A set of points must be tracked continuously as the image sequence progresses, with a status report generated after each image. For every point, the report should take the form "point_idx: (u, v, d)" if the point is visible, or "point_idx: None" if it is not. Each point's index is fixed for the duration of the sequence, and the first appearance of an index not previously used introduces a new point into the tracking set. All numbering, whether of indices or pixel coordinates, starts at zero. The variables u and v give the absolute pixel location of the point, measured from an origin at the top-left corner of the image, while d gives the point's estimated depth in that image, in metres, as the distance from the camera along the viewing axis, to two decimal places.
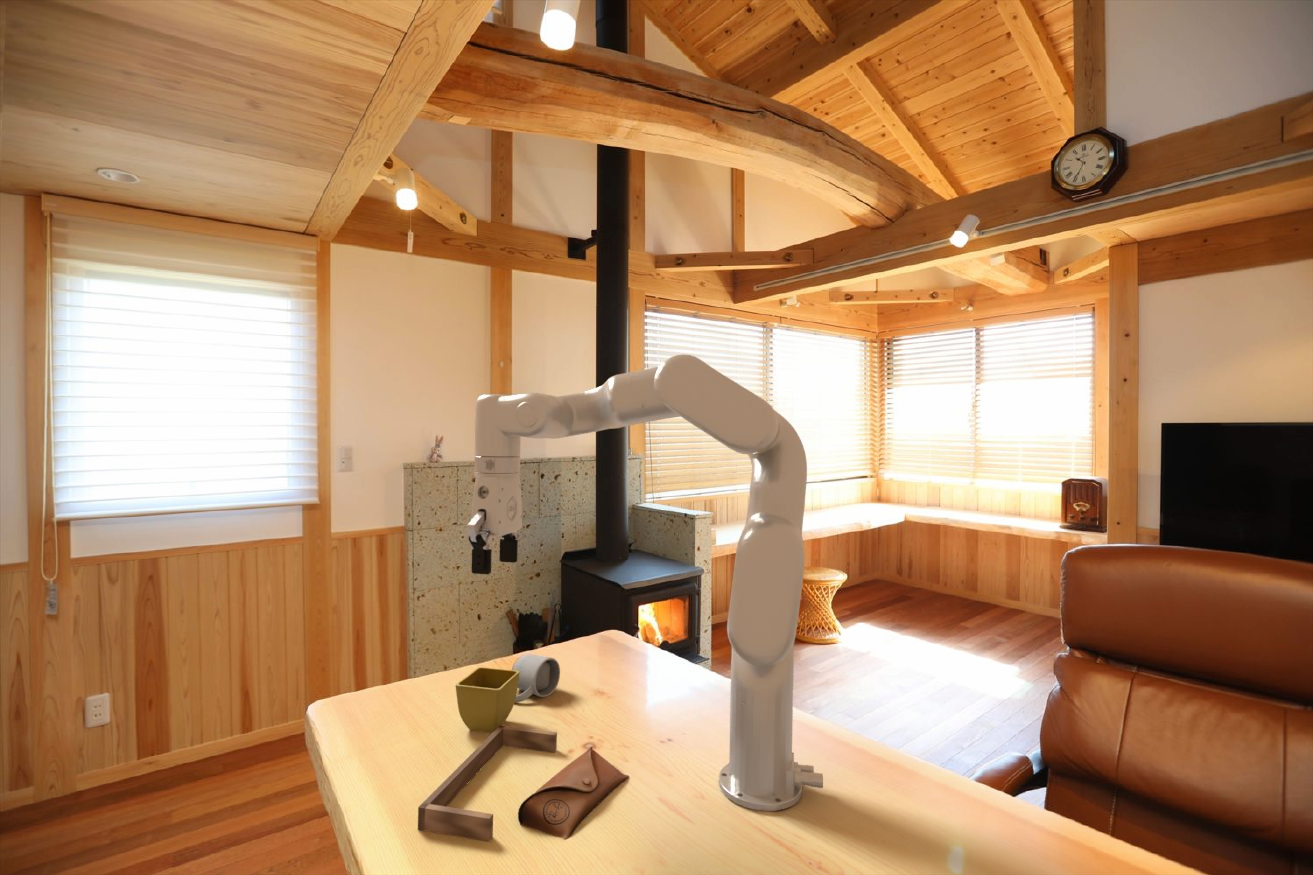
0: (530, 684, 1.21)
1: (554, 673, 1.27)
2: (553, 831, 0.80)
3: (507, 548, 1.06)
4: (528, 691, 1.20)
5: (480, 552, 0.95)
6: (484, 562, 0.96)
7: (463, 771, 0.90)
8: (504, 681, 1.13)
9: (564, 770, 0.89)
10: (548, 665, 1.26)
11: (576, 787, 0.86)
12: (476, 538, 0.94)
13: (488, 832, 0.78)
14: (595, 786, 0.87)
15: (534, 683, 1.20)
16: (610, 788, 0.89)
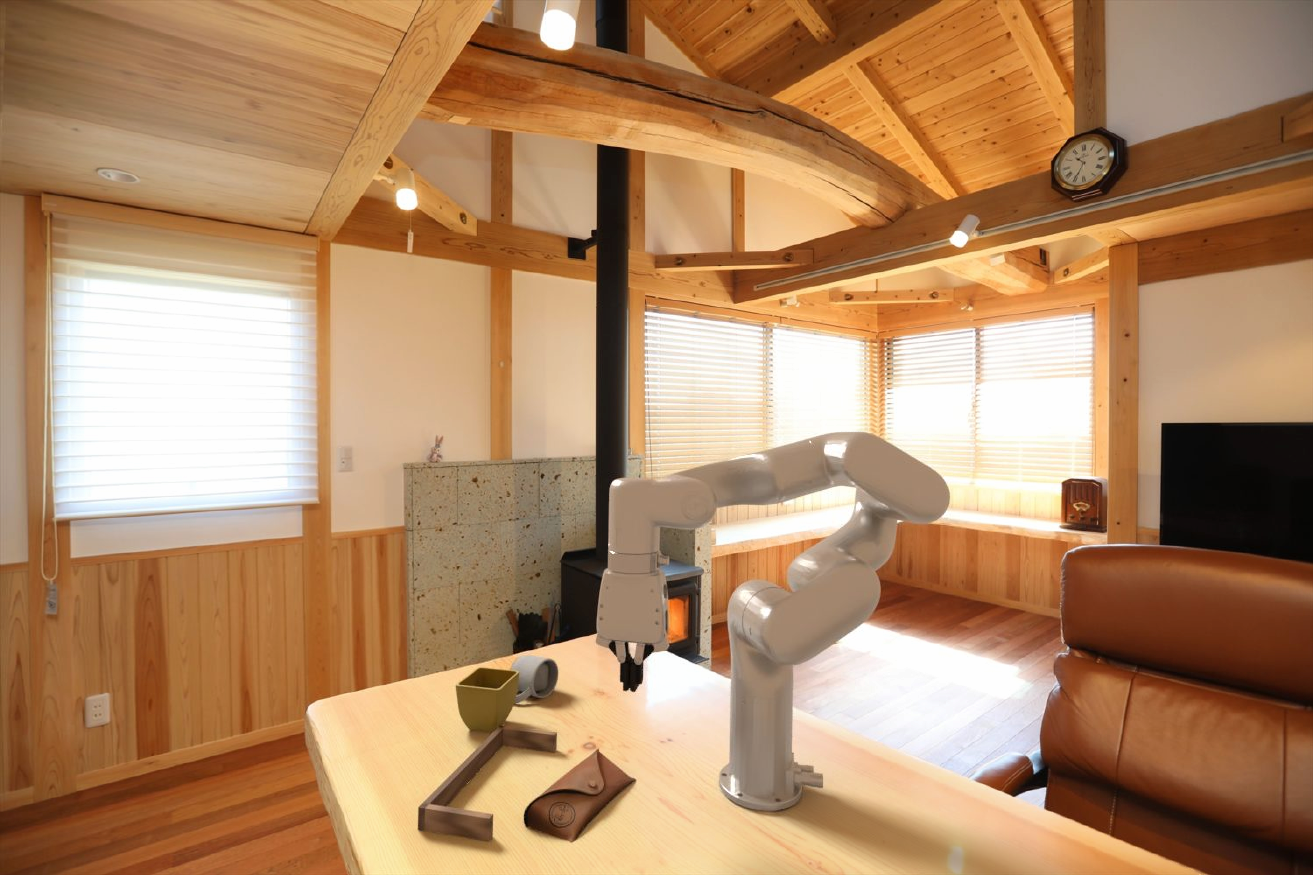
0: (528, 685, 1.20)
1: (552, 674, 1.26)
2: (559, 834, 0.79)
3: None
4: (526, 692, 1.19)
5: (642, 663, 0.87)
6: None
7: (463, 771, 0.90)
8: (504, 681, 1.13)
9: (570, 772, 0.89)
10: (546, 666, 1.25)
11: (582, 789, 0.85)
12: None
13: (488, 832, 0.78)
14: (601, 789, 0.87)
15: (532, 684, 1.20)
16: (616, 791, 0.89)
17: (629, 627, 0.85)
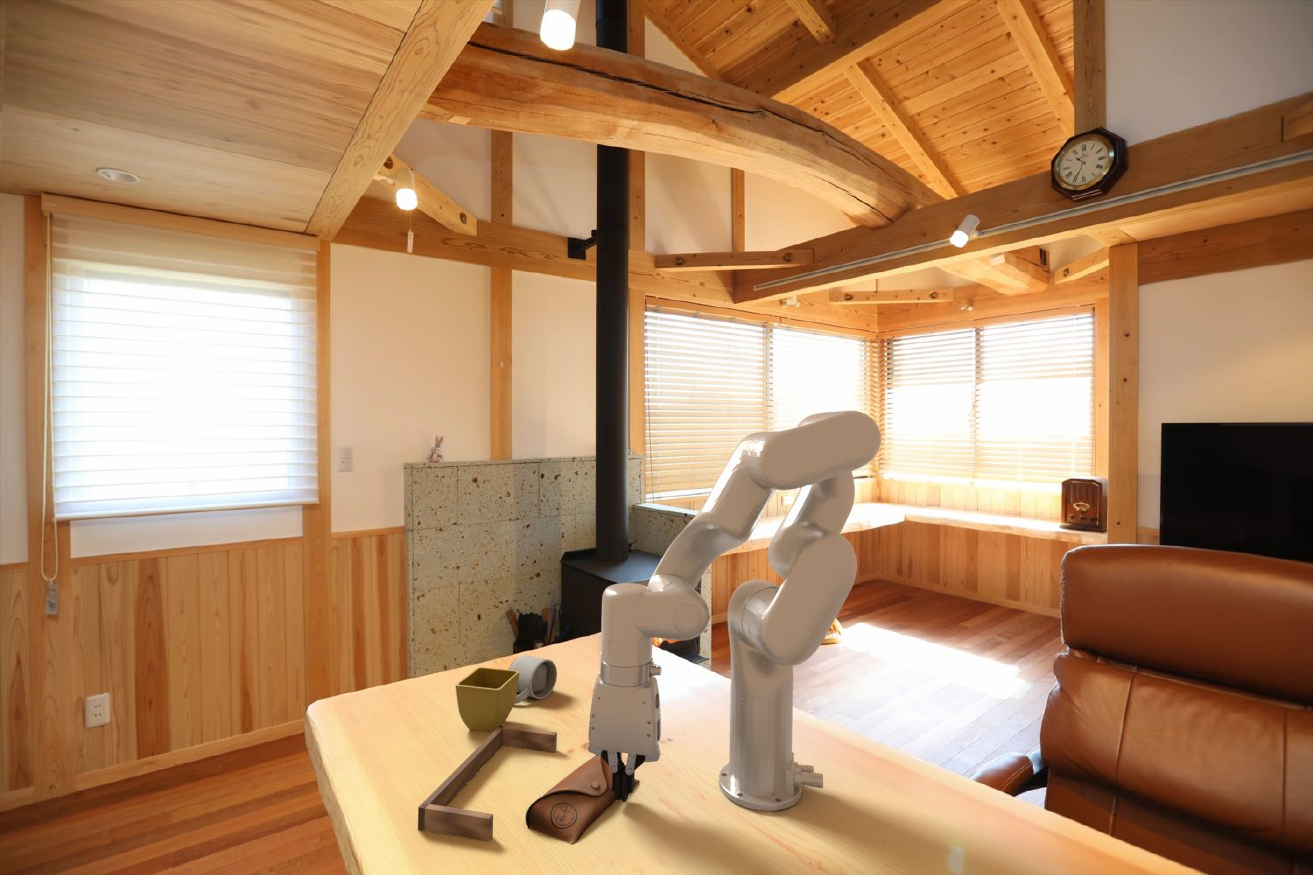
0: (526, 686, 1.20)
1: (551, 675, 1.26)
2: (560, 836, 0.79)
3: None
4: (524, 693, 1.19)
5: (633, 771, 0.87)
6: None
7: (463, 771, 0.90)
8: (504, 681, 1.13)
9: (573, 773, 0.88)
10: (545, 667, 1.25)
11: (585, 791, 0.85)
12: None
13: (488, 832, 0.78)
14: (604, 790, 0.86)
15: (530, 685, 1.19)
16: None
17: (620, 738, 0.85)
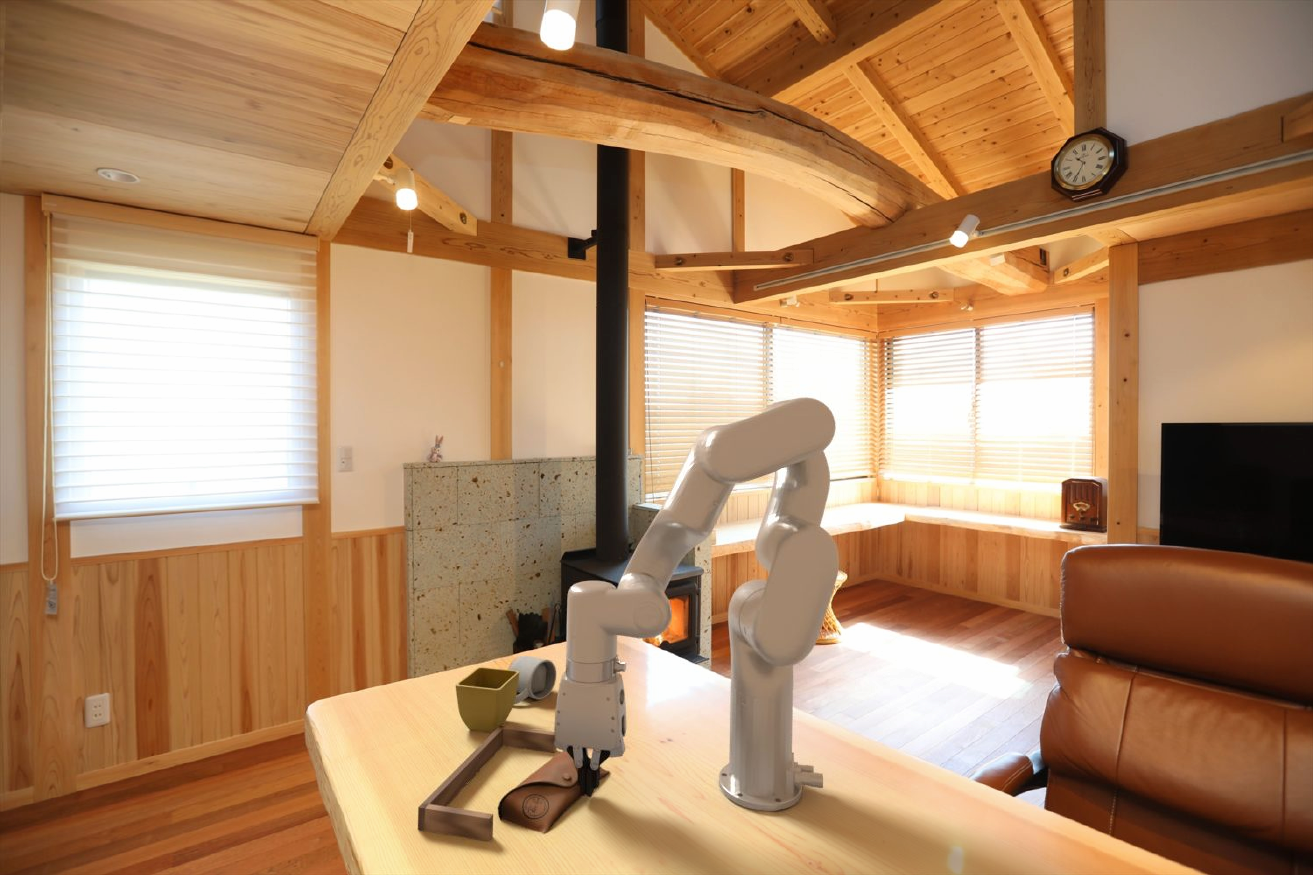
0: (525, 686, 1.20)
1: (550, 675, 1.26)
2: (532, 826, 0.81)
3: None
4: (523, 693, 1.19)
5: (599, 766, 0.88)
6: None
7: (463, 771, 0.90)
8: (504, 681, 1.13)
9: (545, 766, 0.90)
10: (544, 667, 1.24)
11: (556, 782, 0.87)
12: None
13: (488, 832, 0.78)
14: (575, 781, 0.88)
15: (529, 686, 1.19)
16: None
17: (585, 733, 0.86)
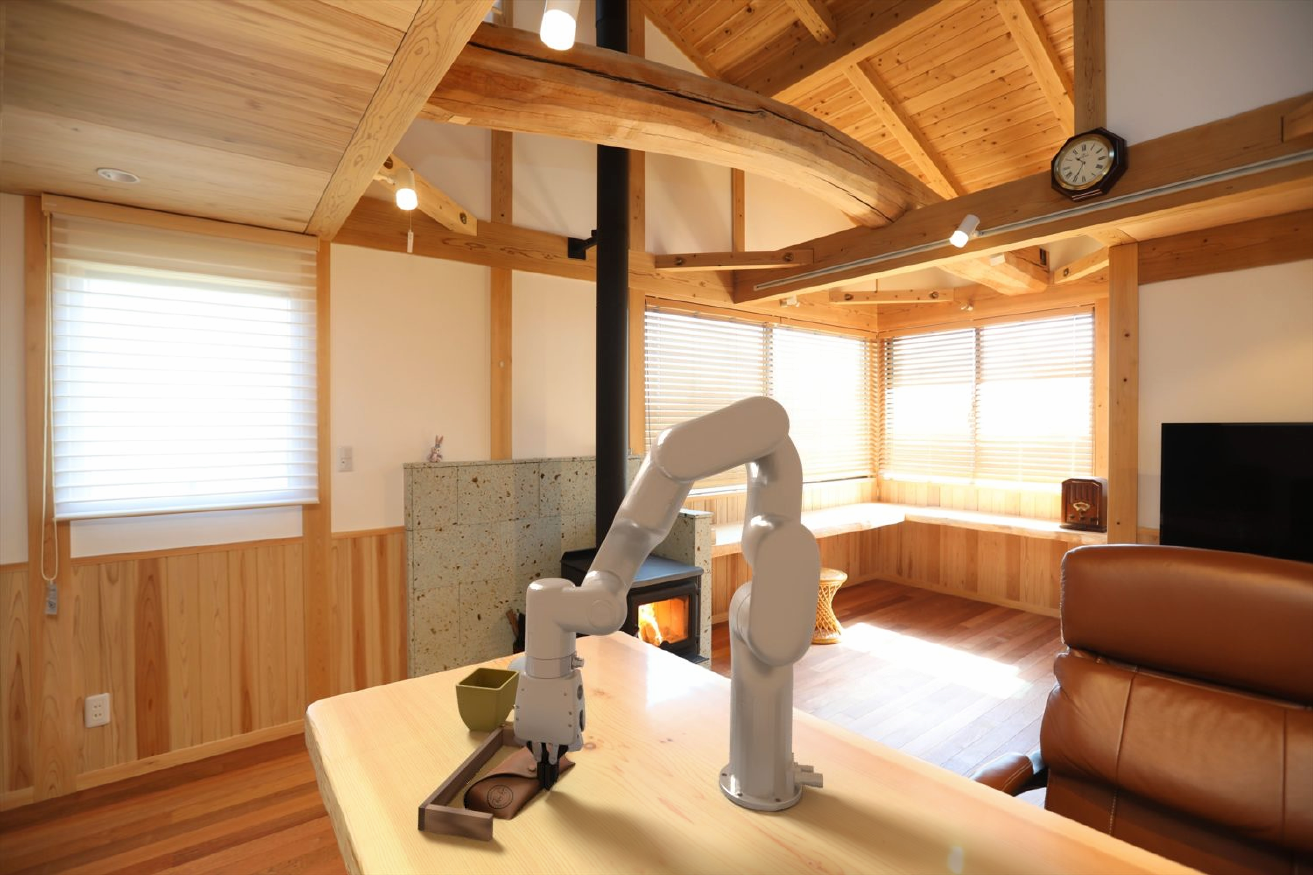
0: None
1: None
2: (496, 815, 0.83)
3: None
4: None
5: (558, 760, 0.89)
6: None
7: (463, 771, 0.90)
8: (504, 681, 1.13)
9: (511, 758, 0.93)
10: None
11: (521, 773, 0.89)
12: None
13: (488, 832, 0.78)
14: None
15: None
16: None
17: (543, 728, 0.87)
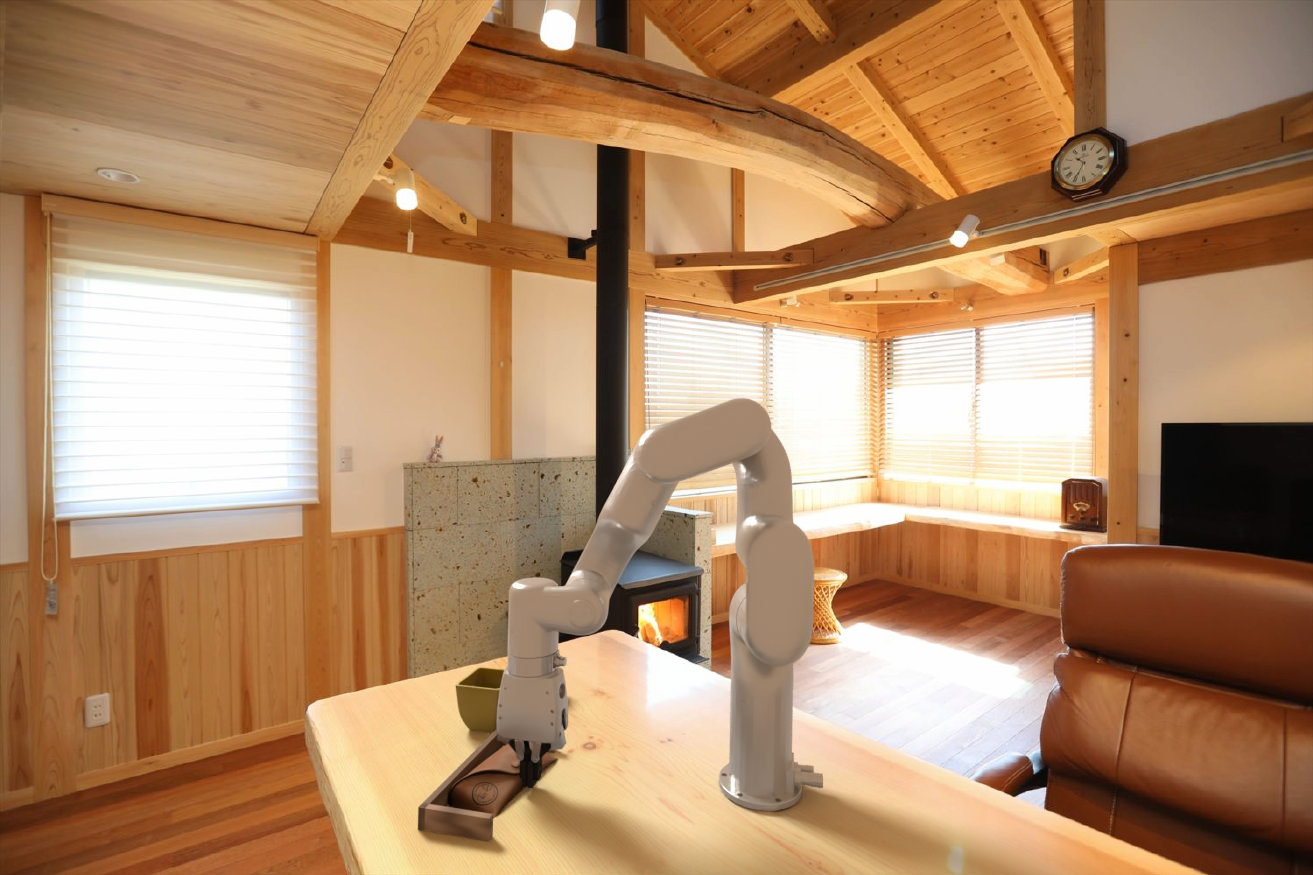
0: None
1: None
2: None
3: None
4: None
5: (541, 759, 0.90)
6: None
7: (463, 771, 0.90)
8: None
9: (494, 755, 0.93)
10: None
11: (505, 770, 0.90)
12: None
13: (488, 832, 0.78)
14: None
15: None
16: None
17: (525, 727, 0.88)
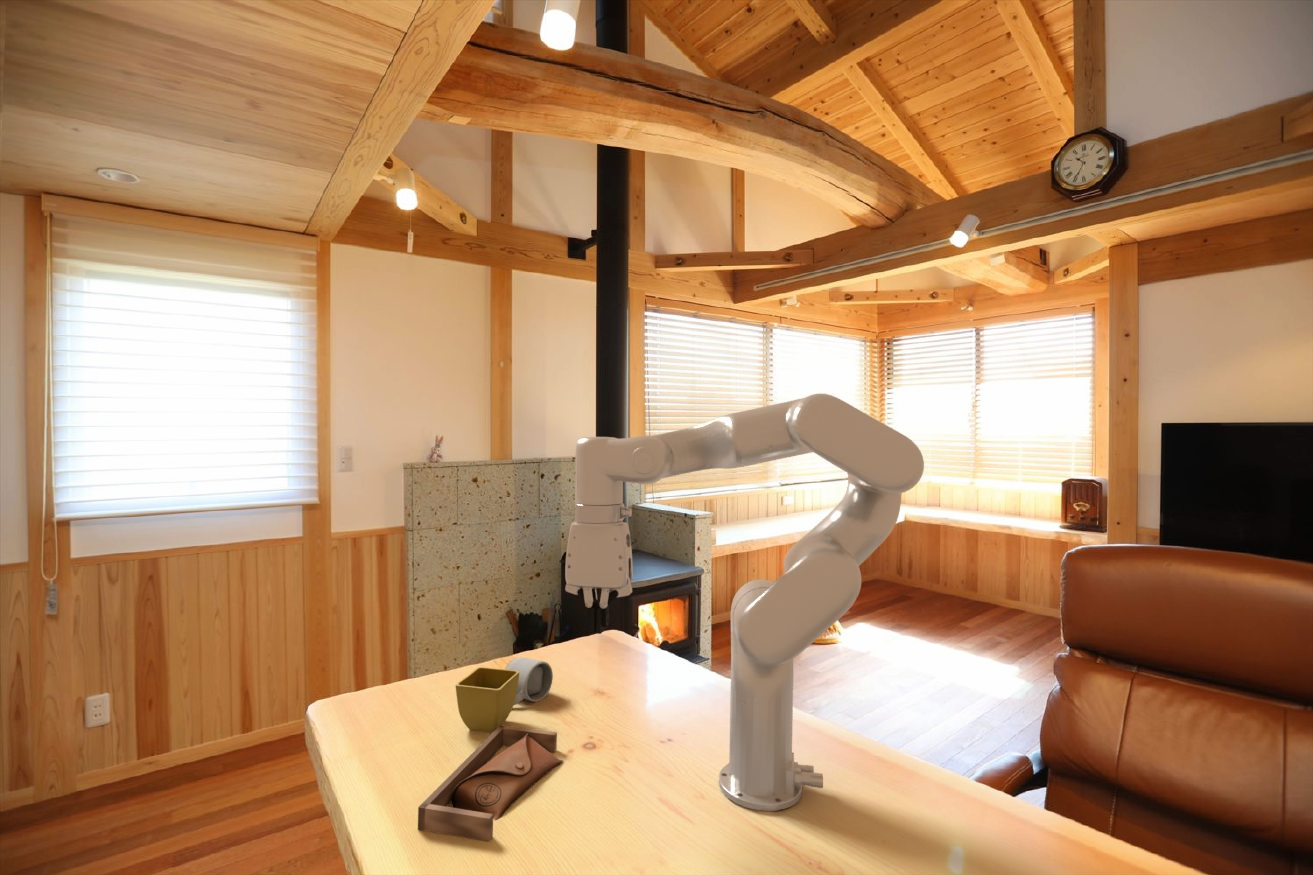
0: (521, 688, 1.19)
1: (547, 677, 1.25)
2: None
3: None
4: (519, 695, 1.18)
5: (608, 607, 0.94)
6: None
7: (463, 771, 0.90)
8: (504, 681, 1.13)
9: (498, 756, 0.93)
10: (540, 669, 1.23)
11: (509, 771, 0.90)
12: None
13: (488, 832, 0.78)
14: (528, 770, 0.91)
15: (525, 688, 1.18)
16: (543, 772, 0.93)
17: (594, 573, 0.92)
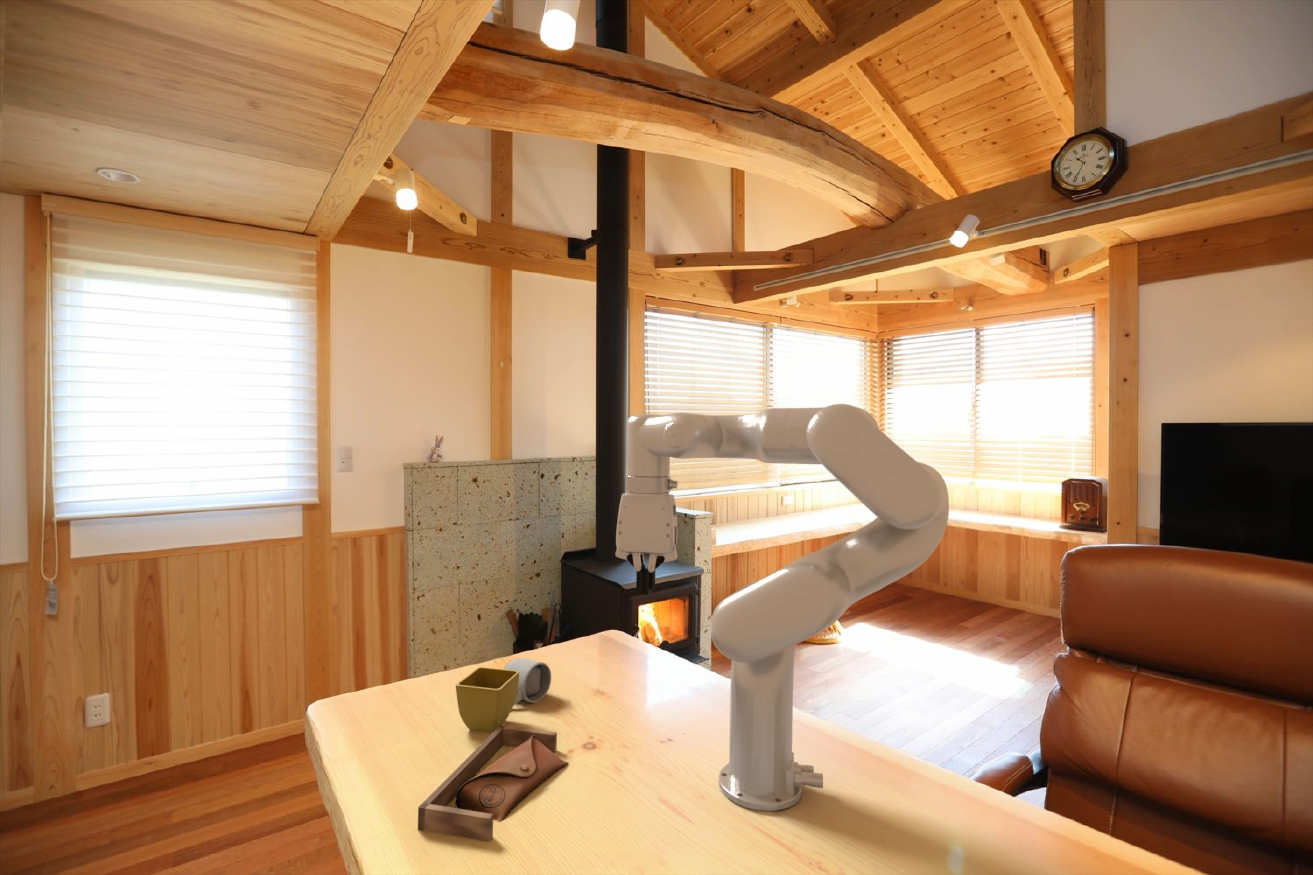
0: (519, 689, 1.18)
1: (545, 678, 1.24)
2: None
3: None
4: (517, 696, 1.17)
5: (654, 572, 1.02)
6: None
7: (463, 771, 0.90)
8: (504, 681, 1.13)
9: (503, 757, 0.93)
10: (539, 670, 1.23)
11: (514, 772, 0.89)
12: None
13: (488, 832, 0.78)
14: (532, 772, 0.91)
15: (523, 689, 1.17)
16: (548, 774, 0.93)
17: (643, 539, 1.00)
